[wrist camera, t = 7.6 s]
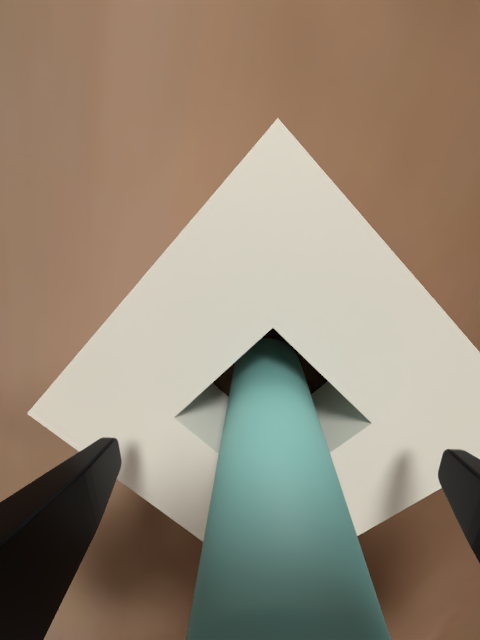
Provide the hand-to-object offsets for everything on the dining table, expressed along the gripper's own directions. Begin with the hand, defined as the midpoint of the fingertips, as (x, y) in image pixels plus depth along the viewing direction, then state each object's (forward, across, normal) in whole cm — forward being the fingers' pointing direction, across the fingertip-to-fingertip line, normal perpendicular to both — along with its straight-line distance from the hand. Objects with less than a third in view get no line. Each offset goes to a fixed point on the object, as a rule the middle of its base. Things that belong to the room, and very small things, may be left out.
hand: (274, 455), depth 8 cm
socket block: (+5, 0, 0) cm, 5 cm away
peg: (+5, 0, 0) cm, 5 cm away
